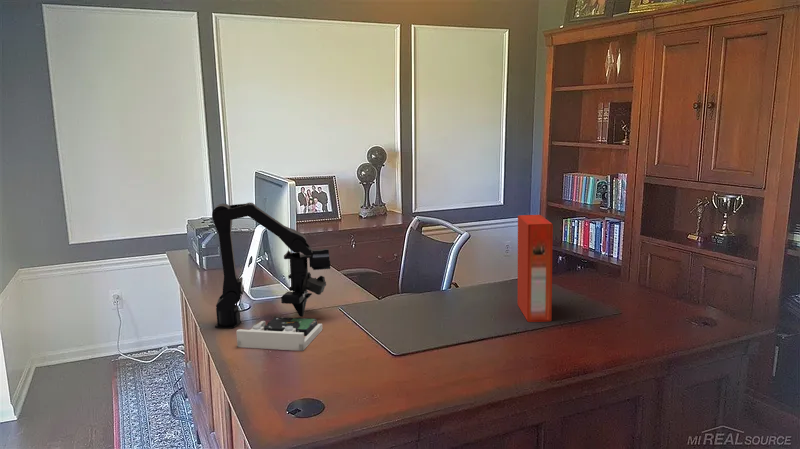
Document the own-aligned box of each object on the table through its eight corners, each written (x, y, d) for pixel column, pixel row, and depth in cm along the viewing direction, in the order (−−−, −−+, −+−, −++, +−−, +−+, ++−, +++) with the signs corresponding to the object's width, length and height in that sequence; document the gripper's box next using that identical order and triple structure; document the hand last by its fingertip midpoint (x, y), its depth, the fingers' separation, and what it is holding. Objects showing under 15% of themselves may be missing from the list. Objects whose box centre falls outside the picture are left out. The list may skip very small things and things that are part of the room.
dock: (237, 347, 176) (236, 328, 175) (262, 326, 192) (261, 309, 191) (303, 350, 172) (302, 331, 171) (322, 329, 188) (321, 312, 187)
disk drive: (262, 336, 186) (308, 337, 183) (261, 328, 185) (307, 328, 183) (274, 325, 196) (317, 325, 193) (273, 316, 195) (317, 317, 193)
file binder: (526, 321, 191) (527, 224, 186) (516, 305, 208) (517, 215, 203) (551, 321, 191) (553, 223, 186) (539, 304, 208) (541, 214, 203)
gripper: (312, 279, 185) (315, 327, 188) (331, 264, 203) (332, 308, 206) (279, 278, 188) (282, 325, 190) (300, 263, 206) (302, 307, 208)
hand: (301, 316), depth 199 cm, fingers closed
